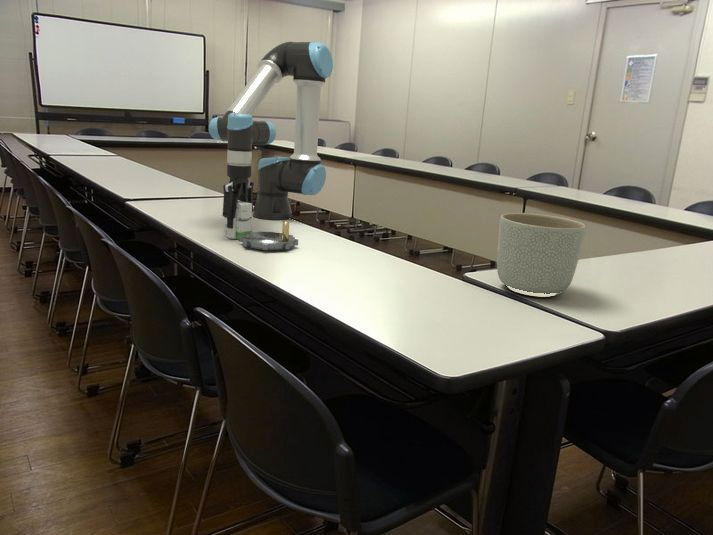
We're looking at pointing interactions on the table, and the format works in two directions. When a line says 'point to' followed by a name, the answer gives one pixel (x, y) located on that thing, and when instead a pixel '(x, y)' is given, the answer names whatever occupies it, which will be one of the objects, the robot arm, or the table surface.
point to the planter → (538, 251)
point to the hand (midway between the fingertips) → (237, 236)
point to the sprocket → (270, 239)
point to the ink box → (242, 219)
